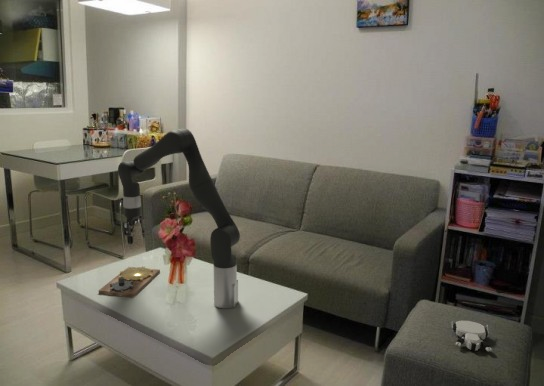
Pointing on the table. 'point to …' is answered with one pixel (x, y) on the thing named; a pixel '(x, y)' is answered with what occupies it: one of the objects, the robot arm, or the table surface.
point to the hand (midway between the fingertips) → (134, 240)
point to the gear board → (129, 281)
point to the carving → (136, 237)
